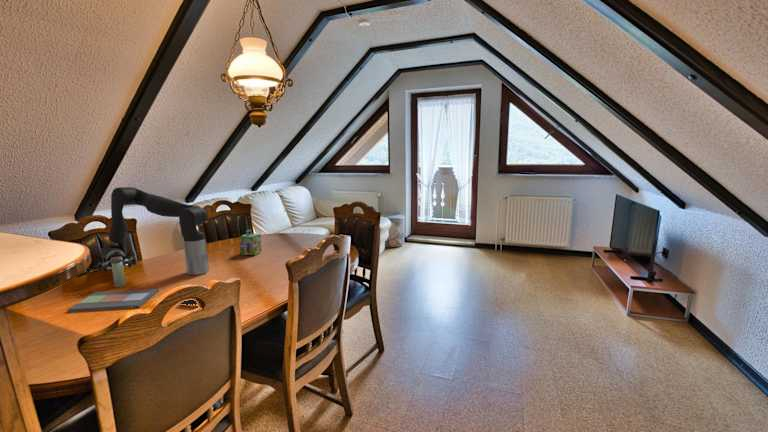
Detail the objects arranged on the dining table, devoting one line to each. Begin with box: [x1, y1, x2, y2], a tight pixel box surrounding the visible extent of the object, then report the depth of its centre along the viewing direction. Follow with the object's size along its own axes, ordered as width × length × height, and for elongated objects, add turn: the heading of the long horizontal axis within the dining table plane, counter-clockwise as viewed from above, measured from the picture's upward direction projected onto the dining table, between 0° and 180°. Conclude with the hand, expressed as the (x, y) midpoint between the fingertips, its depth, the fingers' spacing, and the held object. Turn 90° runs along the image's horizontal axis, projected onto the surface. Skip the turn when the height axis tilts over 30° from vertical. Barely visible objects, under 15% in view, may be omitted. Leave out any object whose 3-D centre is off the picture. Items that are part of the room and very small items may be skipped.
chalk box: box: [238, 228, 262, 256], centre depth 201 cm, size 9×9×15 cm
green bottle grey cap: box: [111, 256, 126, 288], centre depth 150 cm, size 4×4×13 cm
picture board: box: [67, 288, 160, 313], centre depth 135 cm, size 24×16×1 cm, turn 101°
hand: (117, 267), depth 154 cm, fingers open, 8 cm apart
